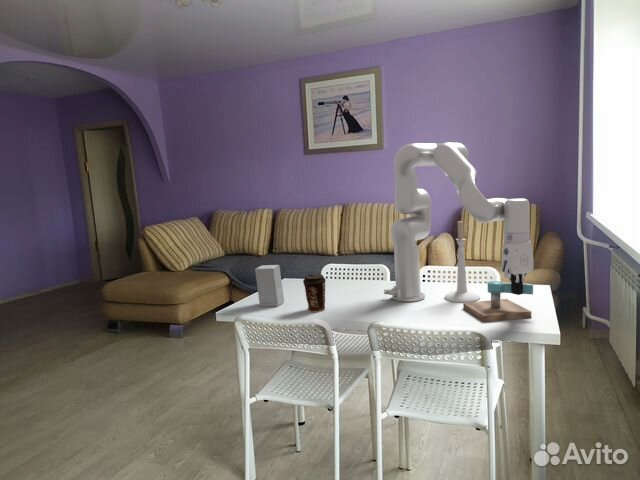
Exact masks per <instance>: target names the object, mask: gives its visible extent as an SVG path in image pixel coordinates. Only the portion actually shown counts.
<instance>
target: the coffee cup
mask: <svg viewBox="0 0 640 480" xmlns="http://www.w3.org/2000/svg"><path fill="white" fill-rule="evenodd" d="M302 283H303V286H304V291H305V298H306V301H307V310H308V312H310V313H321V312H323V311H325V308H326V307H325V306H326V278H325V277H324V274H321V273H320V274H319V273H315V274H307V275H306V276H304V278H303V282H302Z"/></svg>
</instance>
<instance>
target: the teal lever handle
mask: <svg viewBox="0 0 640 480" xmlns="http://www.w3.org/2000/svg"><path fill="white" fill-rule="evenodd" d="M487 293H489V294H491V293H495V294H498V293H500V294H503V293H504V294H505V293H506V294H512V293H511V282H503V281H495V280H493V281H488V282H487ZM522 295H534V284H531V283H523V294H522Z"/></svg>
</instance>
